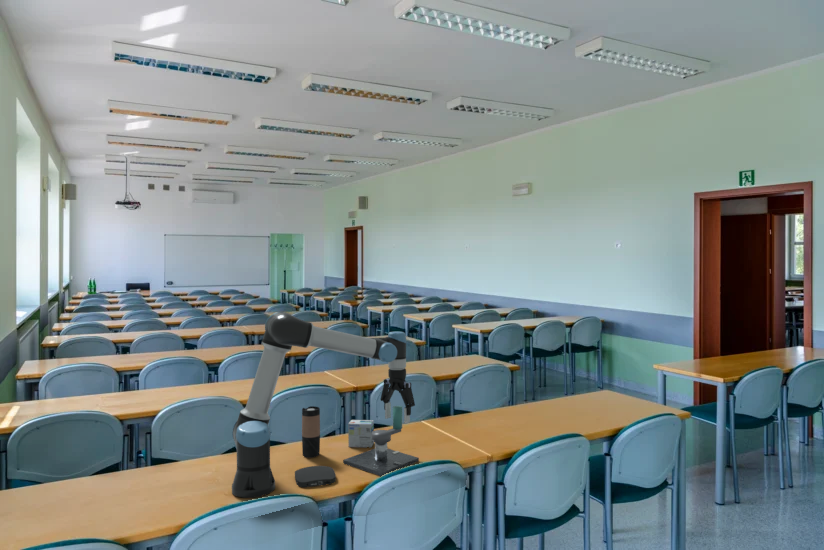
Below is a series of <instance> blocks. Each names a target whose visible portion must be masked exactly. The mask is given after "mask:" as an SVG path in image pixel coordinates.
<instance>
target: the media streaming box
mask: <svg viewBox="0 0 824 550" xmlns="http://www.w3.org/2000/svg"><path fill="white" fill-rule="evenodd" d="M336 477H337V476H336V472H335V469H334V468H333V467H332V466H328V465H327V466H326V465H314V466H313V465H312V466H306V467H301V468H299V469H297V470H295V471H294V480H295V483H296V486H297V485H298V486H297V487H300V488H312V487H322V486H321V485H323V486H327V485H326V484H329V485H332V484H331V483H333V484H335V483H336V481H337V478H336ZM334 482H335V483H334Z"/></svg>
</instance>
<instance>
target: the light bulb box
mask: <svg viewBox="0 0 824 550" xmlns="http://www.w3.org/2000/svg"><path fill="white" fill-rule="evenodd" d="M374 424H375V423H374V420H373V419H351V420H350V421H349V422H348V424H347V425H348V427H347V428H348V429H347V433H348V437H347V438H348V448H367V447H369V449H370V448H372V447H373V445H375V442H372V441H371V432H373V431H375V430H374V429H375V427H374V426H375V425H374Z"/></svg>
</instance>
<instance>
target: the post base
mask: <svg viewBox="0 0 824 550" xmlns="http://www.w3.org/2000/svg"><path fill="white" fill-rule="evenodd" d="M419 462H420V459H419V457H418V456H414V455H410V454H408V453H405V452H404V453H403V452H401V451H399V450H393V449H390V448H388V442H386V443H375V442H374V448H372V449H370V450H367V451H364V452H361V453H357V454H356V455H353V456H350V457H346V458H344V459H342V464H343V463H344V464H343V465H346V464H347V466H349V465H350V467H353V468H355V469H357V470H361V471H364V472H367V473H369V474H372V475H376V476H378V477H381V476H382V475H384V474H386V473H389V472H391V471H394V470H396V469H399V468H402V467H404V468H406V467H405V466H407V467H408V465H409V466H411V465H414V464H416V463H419ZM402 469H403V468H402ZM399 470H400V469H399Z"/></svg>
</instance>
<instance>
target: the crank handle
mask: <svg viewBox="0 0 824 550" xmlns="http://www.w3.org/2000/svg"><path fill="white" fill-rule="evenodd" d="M402 429H403V406H402V405H394V406H393V407H392V428H390V429H375V430H374V431H373V432H371V441H372V442H374V444H375V443H386V442H387V443H389V442H391V441H392V435H395V434H399V433H401V432H402Z"/></svg>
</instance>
